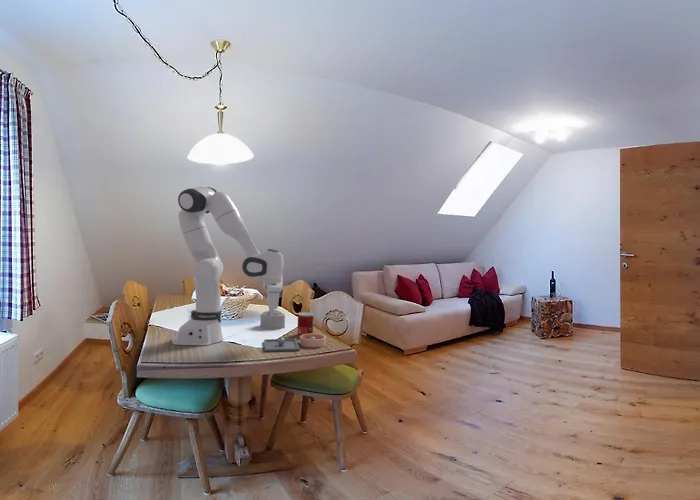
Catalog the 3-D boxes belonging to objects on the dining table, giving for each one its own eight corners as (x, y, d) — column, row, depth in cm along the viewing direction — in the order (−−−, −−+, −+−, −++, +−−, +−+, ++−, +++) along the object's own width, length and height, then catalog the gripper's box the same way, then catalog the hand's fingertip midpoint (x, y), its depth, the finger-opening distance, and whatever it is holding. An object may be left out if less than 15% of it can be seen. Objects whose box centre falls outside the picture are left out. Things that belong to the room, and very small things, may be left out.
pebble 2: (277, 346, 188) (277, 338, 188) (277, 344, 192) (277, 336, 192) (285, 345, 189) (285, 338, 189) (284, 343, 193) (284, 336, 192)
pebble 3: (309, 343, 196) (307, 336, 195) (316, 341, 196) (314, 334, 196) (310, 346, 192) (308, 339, 192) (317, 344, 193) (315, 337, 192)
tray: (264, 351, 181) (265, 349, 181) (263, 342, 197) (264, 339, 196) (299, 350, 184) (299, 348, 184) (295, 341, 200) (295, 338, 200)
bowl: (301, 347, 189) (301, 340, 189) (298, 340, 201) (298, 333, 201) (327, 347, 192) (327, 339, 192) (323, 340, 204) (323, 333, 203)
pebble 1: (267, 318, 187) (268, 310, 187) (267, 316, 190) (268, 309, 190) (275, 318, 188) (275, 310, 188) (275, 316, 191) (275, 309, 191)
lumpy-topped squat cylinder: (267, 323, 234) (268, 308, 234) (288, 326, 230) (288, 310, 230) (258, 327, 225) (258, 311, 224) (279, 330, 221) (280, 314, 220)
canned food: (310, 337, 208) (311, 315, 207) (295, 336, 210) (295, 314, 209) (314, 333, 216) (315, 312, 215) (300, 332, 217) (300, 311, 217)
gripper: (265, 281, 198) (263, 310, 198) (266, 288, 178) (265, 320, 178) (278, 282, 199) (277, 310, 200) (281, 288, 179) (279, 320, 180)
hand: (271, 315), depth 189 cm, fingers closed on pebble 1, 3 cm apart
